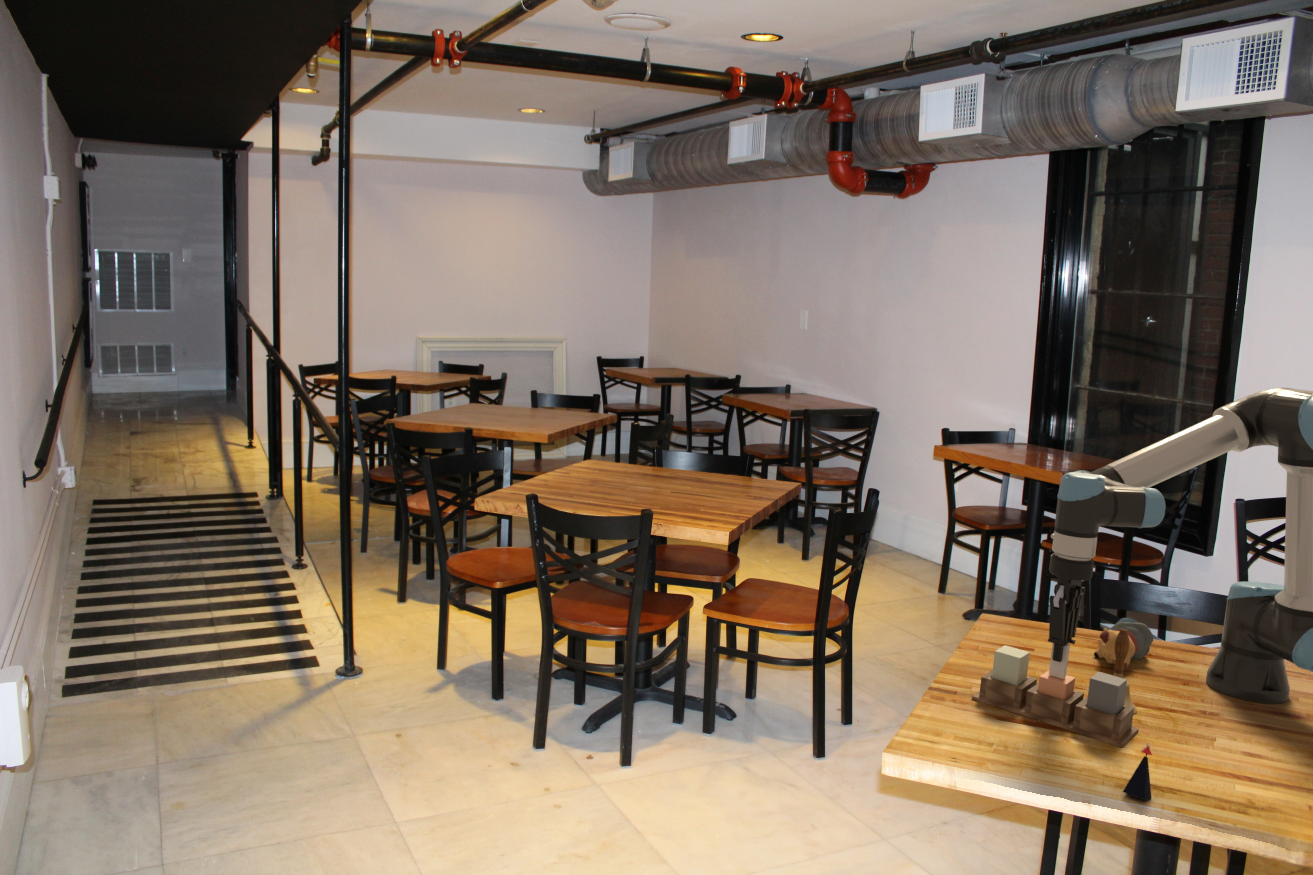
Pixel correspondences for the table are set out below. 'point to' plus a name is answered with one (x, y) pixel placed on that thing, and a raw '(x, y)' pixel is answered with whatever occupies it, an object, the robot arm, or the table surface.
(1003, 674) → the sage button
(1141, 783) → the figurine
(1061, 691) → the terracotta button
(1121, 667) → the hand bell
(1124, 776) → the table surface
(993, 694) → the wooden base
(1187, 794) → the table surface
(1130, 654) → the figurine
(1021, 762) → the table surface
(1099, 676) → the grey square block
